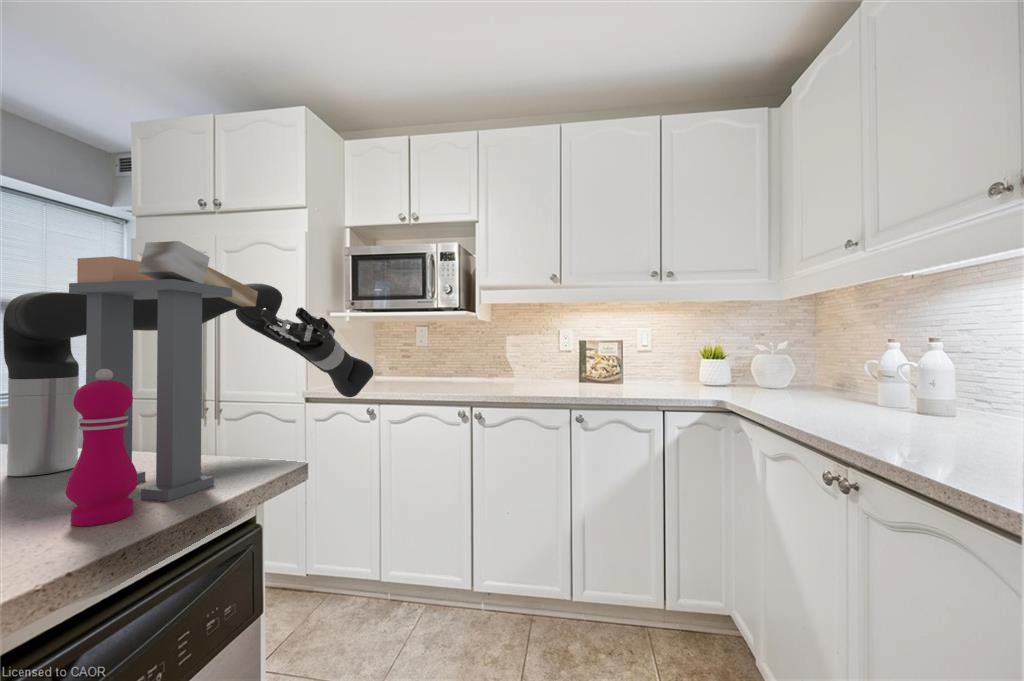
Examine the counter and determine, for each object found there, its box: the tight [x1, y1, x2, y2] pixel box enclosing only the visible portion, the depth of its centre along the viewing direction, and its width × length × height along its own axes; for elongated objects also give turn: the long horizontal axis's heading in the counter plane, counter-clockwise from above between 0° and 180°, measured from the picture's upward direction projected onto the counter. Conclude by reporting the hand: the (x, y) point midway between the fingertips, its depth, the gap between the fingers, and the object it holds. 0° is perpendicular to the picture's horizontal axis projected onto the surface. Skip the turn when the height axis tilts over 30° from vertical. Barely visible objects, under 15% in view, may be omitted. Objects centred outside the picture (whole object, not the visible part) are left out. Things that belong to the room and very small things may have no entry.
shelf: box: [68, 279, 232, 502], centre depth 76 cm, size 20×11×33 cm, turn 78°
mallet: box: [139, 240, 258, 306], centre depth 81 cm, size 6×20×5 cm, turn 171°
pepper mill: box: [65, 369, 139, 528], centre depth 62 cm, size 7×7×20 cm
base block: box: [76, 255, 156, 283], centre depth 77 cm, size 7×10×4 cm
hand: (280, 311), depth 97 cm, fingers open, 8 cm apart
